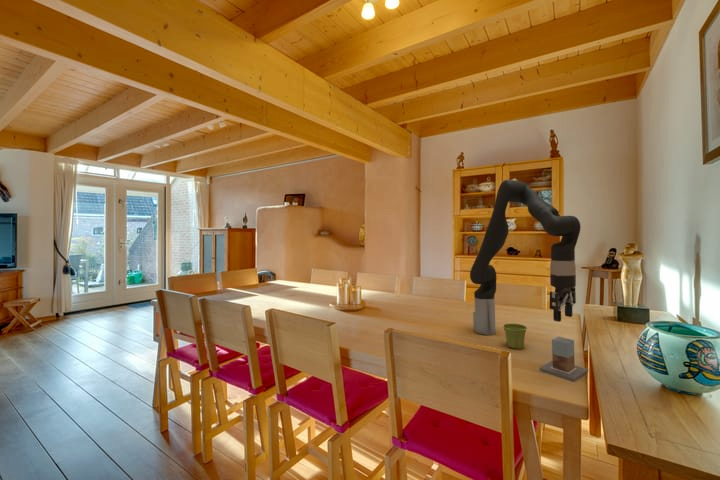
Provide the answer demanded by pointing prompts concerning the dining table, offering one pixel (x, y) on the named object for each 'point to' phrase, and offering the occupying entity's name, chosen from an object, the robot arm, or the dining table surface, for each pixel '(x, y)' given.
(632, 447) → the dining table surface
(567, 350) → the blue block
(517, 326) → the plant pot
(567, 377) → the plate
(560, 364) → the walnut block
